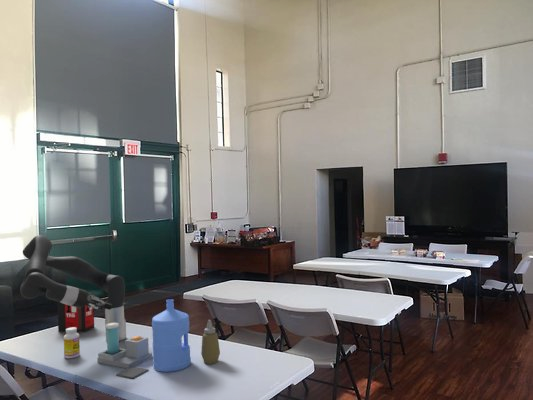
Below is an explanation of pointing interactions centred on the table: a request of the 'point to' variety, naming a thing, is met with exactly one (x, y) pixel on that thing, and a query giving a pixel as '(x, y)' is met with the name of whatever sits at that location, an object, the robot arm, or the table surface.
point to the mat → (132, 372)
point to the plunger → (136, 338)
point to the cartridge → (112, 338)
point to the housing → (127, 354)
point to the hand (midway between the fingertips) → (111, 307)
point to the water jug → (170, 339)
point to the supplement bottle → (71, 343)
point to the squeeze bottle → (210, 345)
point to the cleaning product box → (75, 317)
